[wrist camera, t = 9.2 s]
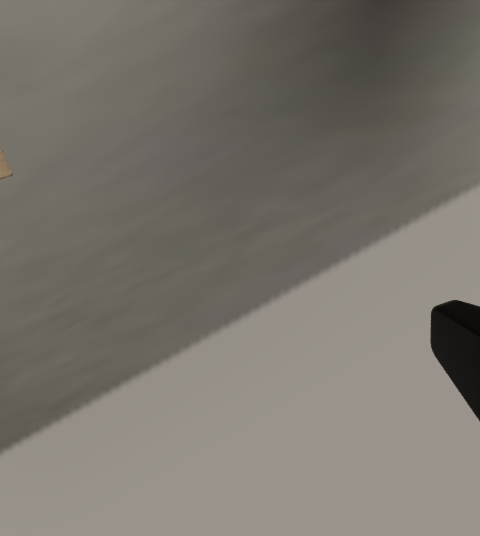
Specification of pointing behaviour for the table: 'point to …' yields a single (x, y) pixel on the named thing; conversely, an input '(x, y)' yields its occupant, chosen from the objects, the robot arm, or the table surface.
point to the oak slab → (4, 166)
